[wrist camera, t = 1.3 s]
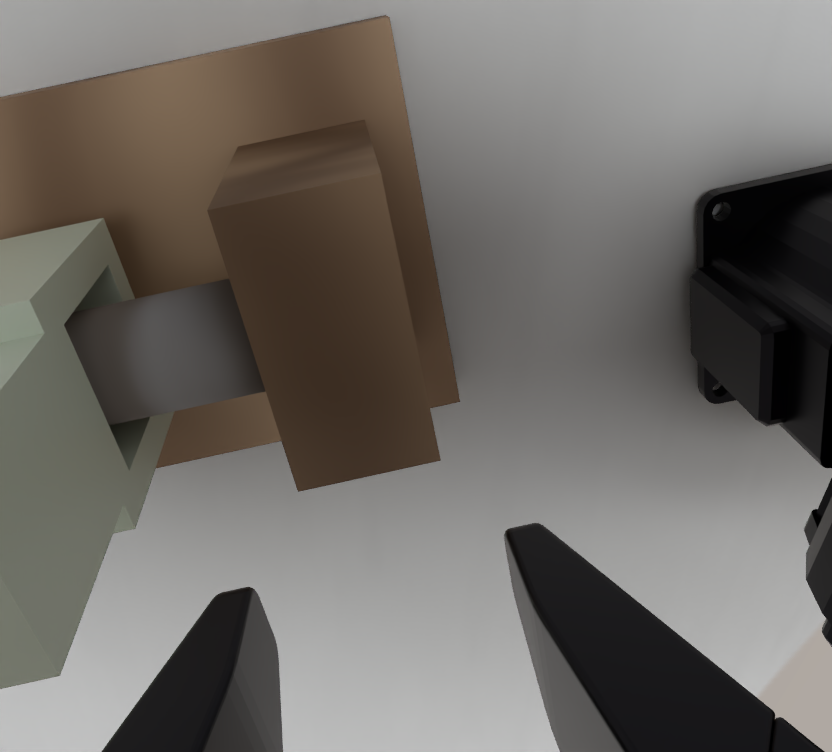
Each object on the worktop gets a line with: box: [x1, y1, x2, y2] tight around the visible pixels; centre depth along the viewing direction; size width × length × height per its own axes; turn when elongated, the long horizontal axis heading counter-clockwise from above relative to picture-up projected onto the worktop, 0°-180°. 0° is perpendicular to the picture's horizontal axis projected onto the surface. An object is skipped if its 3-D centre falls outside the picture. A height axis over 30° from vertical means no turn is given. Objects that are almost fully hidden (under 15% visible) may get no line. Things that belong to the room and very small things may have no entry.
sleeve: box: [0, 218, 174, 689], centre depth 14 cm, size 3×5×9 cm, turn 11°
